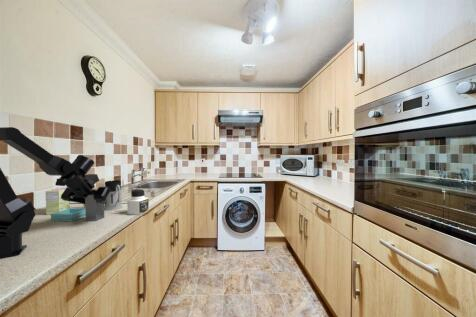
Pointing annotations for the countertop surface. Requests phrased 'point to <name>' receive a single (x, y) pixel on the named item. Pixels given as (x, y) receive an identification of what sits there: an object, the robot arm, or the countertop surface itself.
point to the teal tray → (68, 214)
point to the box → (55, 201)
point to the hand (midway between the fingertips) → (96, 203)
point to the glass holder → (113, 195)
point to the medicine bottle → (137, 202)
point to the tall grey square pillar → (93, 209)
